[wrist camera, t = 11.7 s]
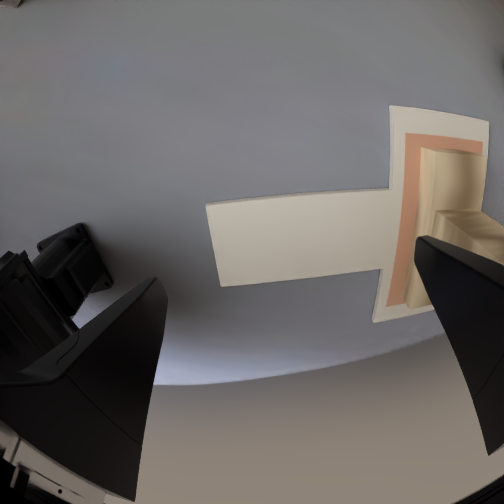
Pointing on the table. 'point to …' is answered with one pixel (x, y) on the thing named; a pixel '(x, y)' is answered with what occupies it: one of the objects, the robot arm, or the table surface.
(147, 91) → the table surface
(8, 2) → the coffee box
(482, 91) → the table surface
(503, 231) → the birch tee block
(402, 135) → the tee mat
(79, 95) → the table surface
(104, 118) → the table surface
